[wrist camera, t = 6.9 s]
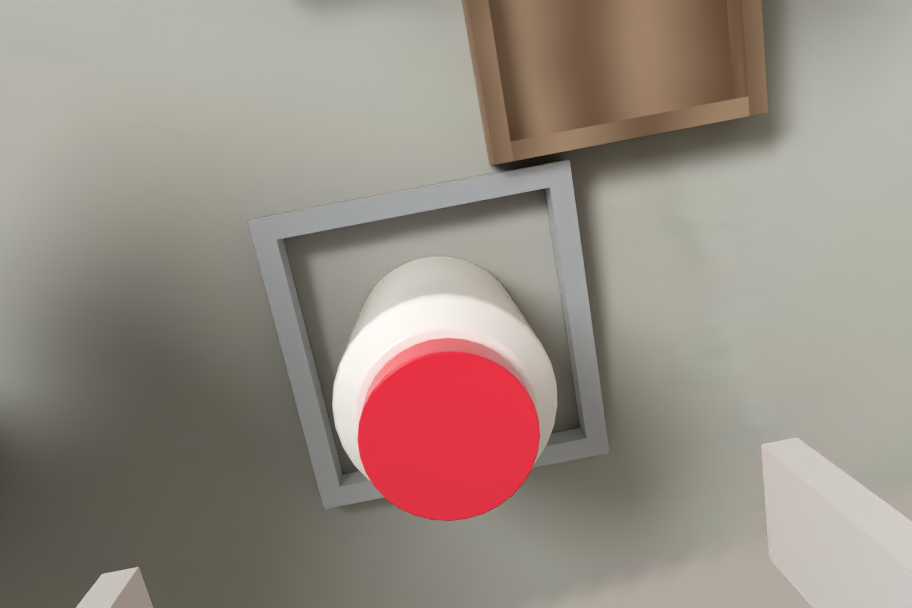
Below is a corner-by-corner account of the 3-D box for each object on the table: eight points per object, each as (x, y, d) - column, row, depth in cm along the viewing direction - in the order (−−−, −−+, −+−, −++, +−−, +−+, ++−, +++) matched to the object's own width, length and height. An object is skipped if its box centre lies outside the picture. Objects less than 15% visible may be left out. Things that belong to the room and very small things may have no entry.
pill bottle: (553, 335, 29) (629, 436, 18) (438, 443, 30) (448, 598, 19) (439, 220, 28) (450, 257, 17) (322, 337, 29) (263, 442, 18)
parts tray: (327, 496, 30) (323, 509, 29) (255, 218, 27) (247, 221, 26) (602, 442, 31) (609, 453, 29) (563, 159, 27) (569, 159, 26)
